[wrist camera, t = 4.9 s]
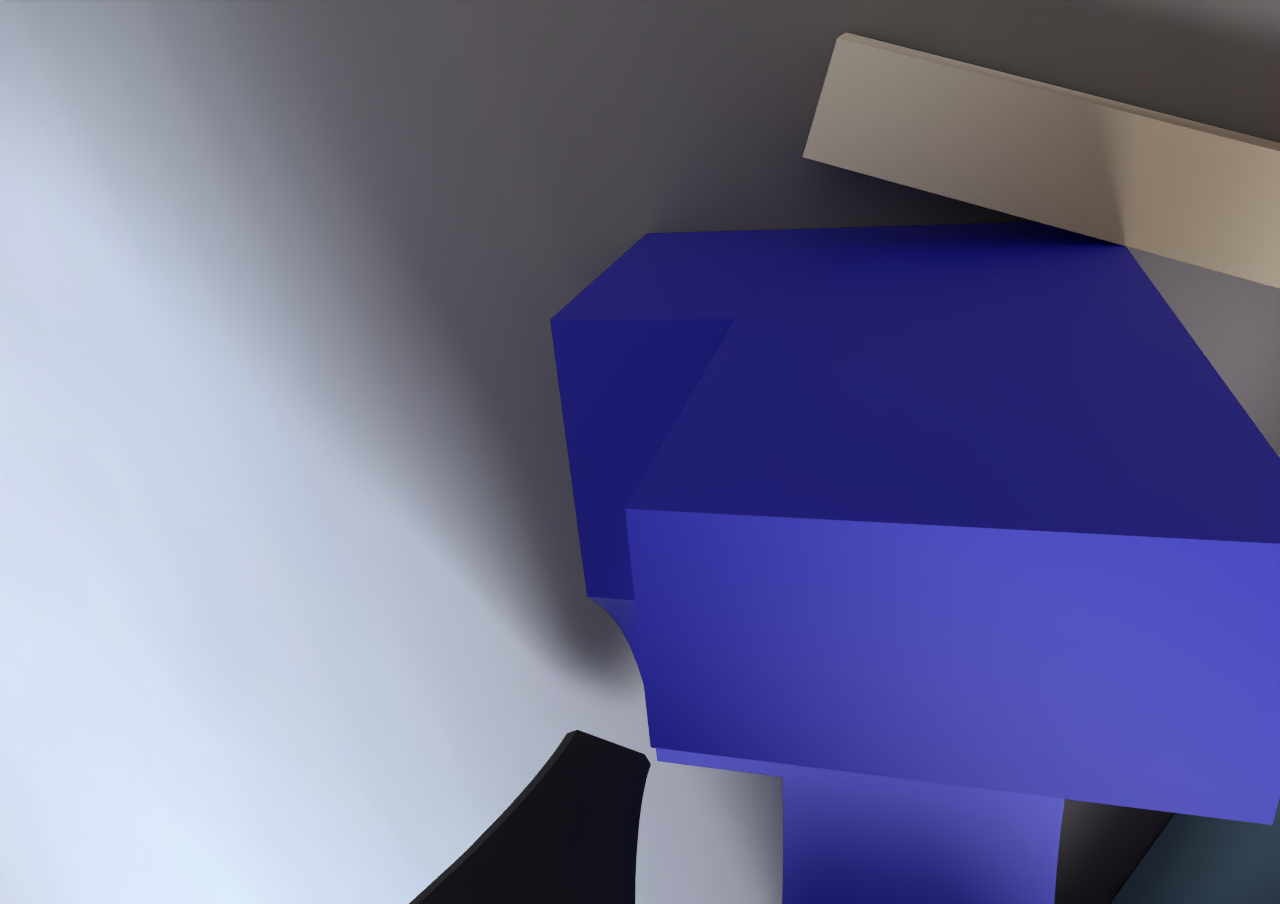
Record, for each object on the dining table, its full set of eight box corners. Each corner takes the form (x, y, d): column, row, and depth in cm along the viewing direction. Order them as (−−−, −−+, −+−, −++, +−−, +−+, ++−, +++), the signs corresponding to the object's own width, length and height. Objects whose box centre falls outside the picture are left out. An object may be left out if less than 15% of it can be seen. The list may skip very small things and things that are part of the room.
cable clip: (646, 234, 10) (352, 493, 5) (1106, 219, 9) (1346, 547, 4) (711, 981, 15) (597, 1496, 10) (1011, 1039, 14) (1057, 1658, 9)
